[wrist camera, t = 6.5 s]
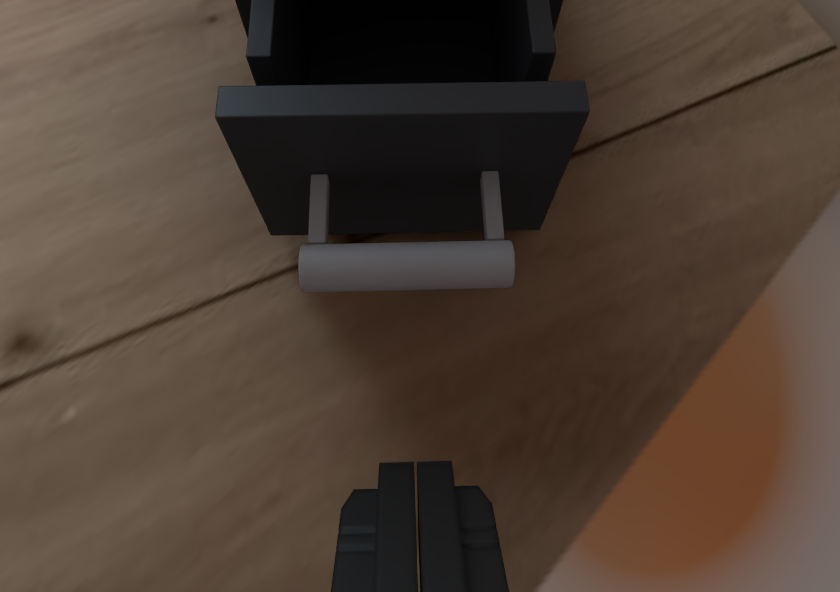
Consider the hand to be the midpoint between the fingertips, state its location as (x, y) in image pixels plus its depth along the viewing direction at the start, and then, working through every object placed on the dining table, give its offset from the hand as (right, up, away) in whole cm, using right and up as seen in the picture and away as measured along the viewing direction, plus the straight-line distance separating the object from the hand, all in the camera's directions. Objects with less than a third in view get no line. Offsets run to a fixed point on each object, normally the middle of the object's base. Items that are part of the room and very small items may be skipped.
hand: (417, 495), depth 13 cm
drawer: (-1, +11, +15) cm, 18 cm away
